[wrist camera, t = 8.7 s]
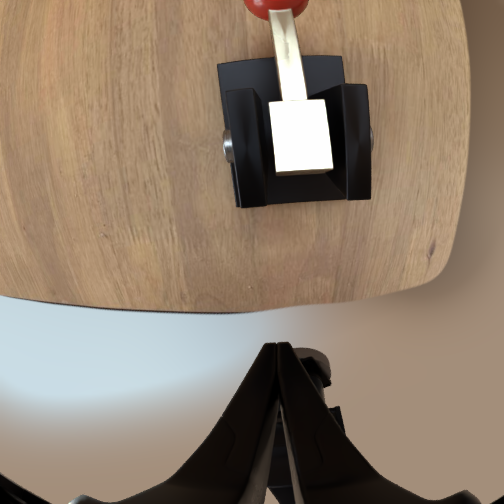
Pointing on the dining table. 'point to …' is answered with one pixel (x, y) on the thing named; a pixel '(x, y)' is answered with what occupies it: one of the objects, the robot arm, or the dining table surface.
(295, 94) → the lever
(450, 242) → the dining table surface
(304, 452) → the robot arm
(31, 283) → the dining table surface
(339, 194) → the switch bracket
